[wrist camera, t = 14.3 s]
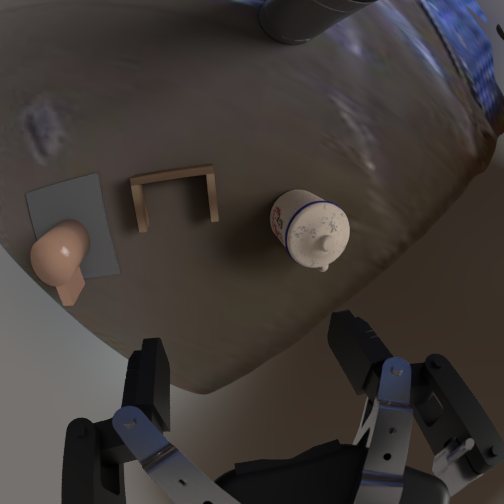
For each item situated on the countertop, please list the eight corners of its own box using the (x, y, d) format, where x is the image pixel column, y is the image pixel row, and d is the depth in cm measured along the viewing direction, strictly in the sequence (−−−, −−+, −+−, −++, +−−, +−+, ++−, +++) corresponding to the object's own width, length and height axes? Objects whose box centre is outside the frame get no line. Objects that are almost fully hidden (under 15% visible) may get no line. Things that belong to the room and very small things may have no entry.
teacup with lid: (258, 201, 39) (283, 227, 29) (312, 178, 40) (353, 195, 29) (284, 266, 45) (311, 306, 34) (332, 243, 45) (369, 275, 35)
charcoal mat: (26, 193, 30) (25, 193, 30) (98, 172, 32) (97, 173, 32) (52, 281, 37) (51, 283, 37) (120, 272, 39) (120, 273, 39)
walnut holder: (134, 175, 34) (129, 178, 31) (211, 163, 36) (213, 165, 33) (143, 225, 37) (139, 232, 34) (216, 214, 39) (218, 221, 36)
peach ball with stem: (48, 223, 33) (24, 242, 26) (84, 215, 34) (63, 234, 27) (66, 281, 37) (49, 309, 30) (101, 277, 38) (87, 305, 31)
